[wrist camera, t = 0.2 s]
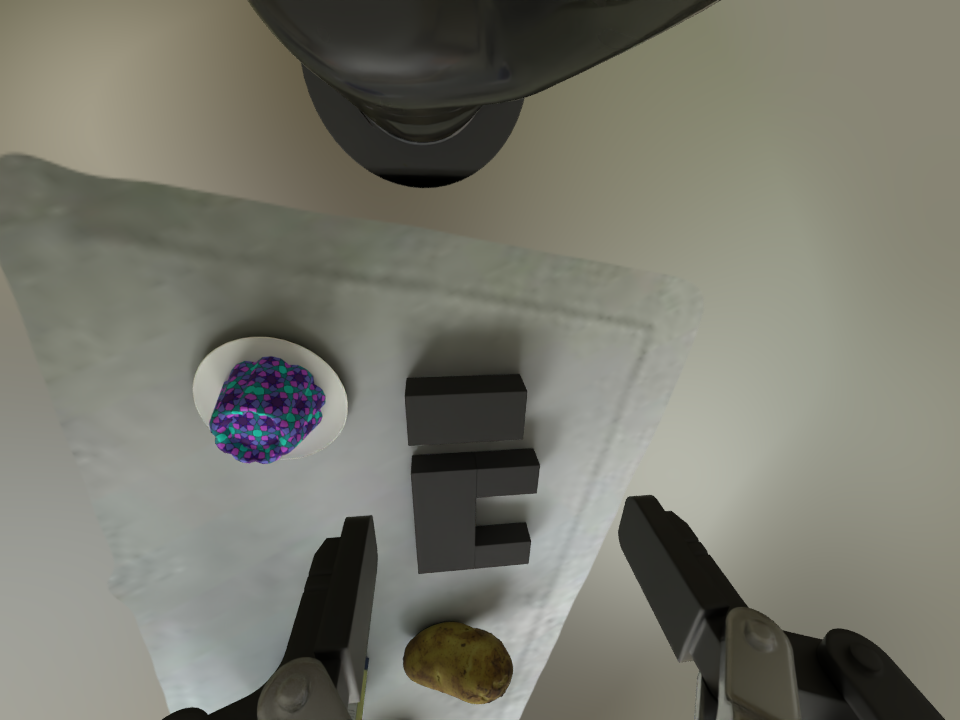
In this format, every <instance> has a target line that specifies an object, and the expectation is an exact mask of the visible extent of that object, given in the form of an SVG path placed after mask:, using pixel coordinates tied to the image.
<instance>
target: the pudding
mask: <svg viewBox="0 0 960 720" xmlns="http://www.w3.org/2000/svg"><path fill="white" fill-rule="evenodd" d="M193 399H194V402H195V405H196V409H197V411H198V413H199V414H200V416H201V418H202V420H203V421H204V422H205V424H206V425H207V426H208V428H209V429H210V431H211V433H212V434H213V435H214V436H215V437H216V438H215V444H216V445H217V447H218V448H219V449H220V450H221V451H223V452H224V453H229V454H232V455H233V457H234V458H235V459H236V460H238V461H240V462H244V463H251V462H255V461H256V462H259V463H262V464H267V463H272V462H274V461H276V460H282V459H295V458H302V457H305V456H308V455H312V454H314V453H316V452H318V451H320V450H322V449H324V448H325V447H327V446H328V445H329V444H331V443H332V442H333V441H334V440H335V439H336V438H337V437H338V435H339V434H340V432H341V431H342V429H343V427H344V425H345V422H346V419H347V413H348V401H347V395H346V392H345V389H344V386H343V384H342V383H341V381H340V379H339V377H338V376H337V374H336V373H335V372H334V370H333V369H332V368H331V367H330V366H329V365H328V364H327V363H326V362H325V361H324V360H323V359H322V358H320V357H319V356H317V355H316V354H314V353H313V352H311V351H310V350H308V349H306V348H304V347H302V346H300V345H298V344H295V343H292V342H289V341H286V340H283V339H277V338H271V337H247V338H240V339H236V340H233V341H230V342H227V343H225V344H223V345H221V346H219V347H217V348H216V349H214V350H213V351H212V352H211V353H209V354H208V355H207V356H206V357H205V358H204V359H203V361H202V362H201V363H200V365H199V366H198V369H197V371H196V373H195V376H194V381H193Z"/></svg>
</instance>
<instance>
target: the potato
mask: <svg viewBox="0 0 960 720" xmlns="http://www.w3.org/2000/svg"><path fill="white" fill-rule="evenodd" d="M403 667H404V671H405V673H406V675H407V676H408V677H409V678H410V679H411V680H412V681H414V682H416V683H418V684H420V685H422V686H425V687H428V688H431V689H434V690H437V691H440V692H442V693H446V694H448V695H451V696H454V697H456V698H459V699H461V700H463V701H465V702H468V703H471V704H485V703H490V702H492V701H494V700H496V699H497V698H499V697H502V696H503V694H504V693H505V692H506V689H507V688H508V686H509V684H510V682H511V679H512V675H513V664H512V660H511V658H510V655H509V654H508V652H507V650H506V648H505V647H504V645H503V643H502V641H500V640H499V639H498V638H496V637H495V636H494V635H492V633H489V632H487V631H485V630H481V629H478V628H472V627H470V626H468V625H466V624H463V623H459V622H444V623H439V624H436V625H433V626H431V627H429V628H427V629H425V630H423V631H422V632H420V633H419V634H418V635H416V636H415V637H414V638H413V639H412V640H411V641H410V642H409V643H408V645H407V646H406V648H405V652H404V657H403Z"/></svg>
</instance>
